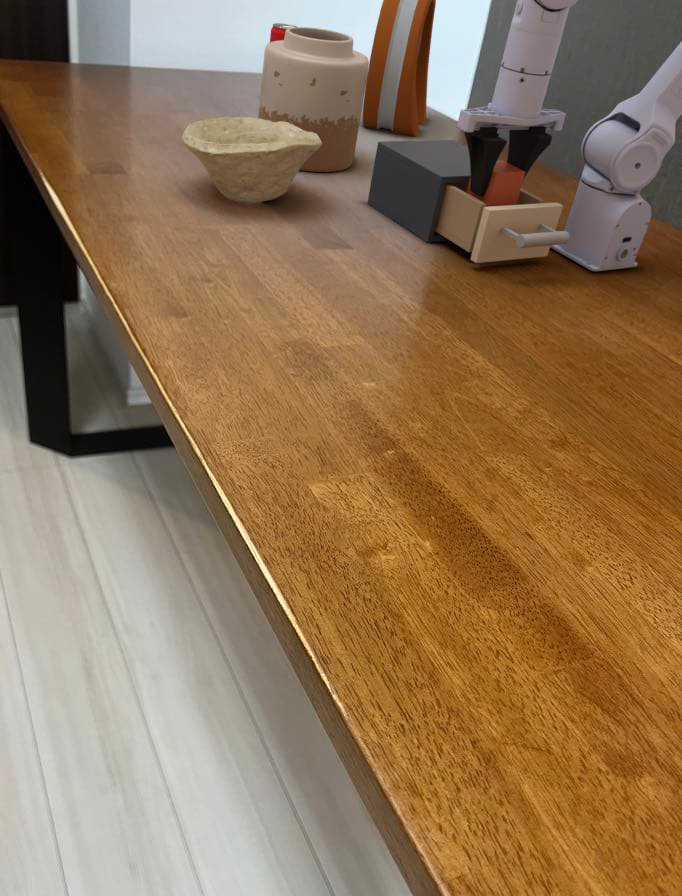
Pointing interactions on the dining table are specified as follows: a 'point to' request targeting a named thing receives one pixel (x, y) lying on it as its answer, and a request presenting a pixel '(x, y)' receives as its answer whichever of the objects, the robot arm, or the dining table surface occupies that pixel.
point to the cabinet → (416, 181)
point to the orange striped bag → (399, 67)
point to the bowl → (250, 155)
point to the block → (502, 185)
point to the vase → (316, 91)
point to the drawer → (499, 225)
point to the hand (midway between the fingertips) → (493, 192)
